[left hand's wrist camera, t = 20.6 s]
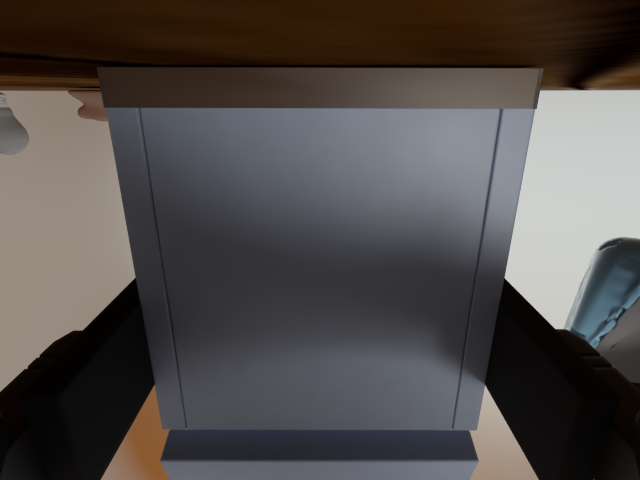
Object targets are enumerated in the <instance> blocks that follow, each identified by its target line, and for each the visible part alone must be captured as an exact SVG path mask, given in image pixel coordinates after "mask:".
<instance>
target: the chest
mask: <svg viewBox="0 0 640 480" xmlns="http://www.w3.org/2000/svg"><path fill="white" fill-rule="evenodd" d="M543 71H544V68H375V67H97V72H98V77H99V83H100V89H101V94H102V100H103V105H104V108H106V111H107V117H108V122H109V128H110V134H111V139H112V145H113V151H114V156H115V162H116V168H117V173H118V179H119V185H120V191H121V196H122V202H123V207H124V213H125V219H126V225H127V230H128V236H129V242H130V247H131V253H132V259H133V264H134V270H135V276H136V281H137V287H138V293H139V299H140V304H141V309H142V315H143V320H144V326H145V332H146V337H147V343H148V348H149V354H150V360H151V365H152V371H153V377H154V382H155V390H156V395H157V400H158V407H159V412H160V418H161V424H162V428H163V429H186V428H187V429H189V430H451V429H453V430H477V426H478V420H479V414H480V409H481V404H482V398H483V393H484V387H485V380H486V374H487V369H488V363H489V358H490V352H491V346H492V341H493V335H494V330H495V324H496V318H497V313H498V307H499V302H500V299H501V293H502V288H503V282H504V277H505V271H506V266H507V260H508V255H509V249H510V244H511V238H512V233H513V227H514V222H515V216H516V211H517V205H518V200H519V194H520V189H521V183H522V178H523V172H524V167H525V161H526V156H527V150H528V145H529V139H530V134H531V128H532V123H533V117H534V112H535V109H537V104H538V98H539V93H540V87H541V82H542V76H543Z"/></svg>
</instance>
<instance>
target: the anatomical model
mask: <svg viewBox="0 0 640 480" xmlns="http://www.w3.org/2000/svg"><path fill="white" fill-rule="evenodd" d="M68 93H69V94H70V95H72V96H73V97H75V98H77V99H78V100H80V101H82V102H83V103H84V105H83V106H82V107H80V108H79V109H78V115H79V116H80V117H82V118H86V119H94V120H98V121H108V117H107V111H106V108H104V105H103V100H102V94H101V90H70V91H68Z"/></svg>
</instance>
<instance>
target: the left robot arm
mask: <svg viewBox="0 0 640 480" xmlns="http://www.w3.org/2000/svg"><path fill="white" fill-rule="evenodd" d="M154 384H155V382H154V377H153V371H152V365H151V360H150V354H149V348H148V343H147V337H146V332H145V326H144V320H143V315H142V309H141V304H140V299H139V293H138V287H137V281H136V278H135V279H134V280H133V281H132V282H131V283H130V284H129V285H128V286H127V287H126V288H125V289H124V290H123V291H122V292H121V293H120V294H119V295H118V296H117V297H116V298H115V299H114V300H113V301H112V302H111V303H110V304H109V305H108V306H107V307H106V308H105V309H104V310H103V311H102V312H101V313H100V314H99V315H98V316H97V317H96V318H95V319H94V320H93V321H92V322H91V323H90V324H89V325H88V326H87V327H86V328H85V329H84V330H83V331H72V332H70V333H69V334H67V335H65V336H64V337H62V338H60V339H58V340H56V341H55V342H53V343H52V344H51V345H50V346H49V347H48V348H47V349H46V350H45V351H44V352H43V353H42V354H41V355H40V357H39V358H36V359H35V360H34V361H33V362H32V363H31V364H30V365H29V366H28V369H24V370H23V371H22V372H21V373H20V374H19V375H18V376H17V377H16V378H15V379H14V380H13V381H12V382H11V383H9V384H8V385H7V386H6V387H5V388H4V389H3V390H2V391H1V392H0V480H101V478H102V476H103V474H104V473H105V471H106V469H107V467H108V466H109V464H110V462H111V460H112V459H113V457H114V455H115V453H116V452H117V450H118V448H119V446H120V444H121V443H122V441H123V439H124V437H125V436H126V434H127V432H128V430H129V429H130V427H131V425H132V423H133V422H134V420H135V418H136V416H137V414H138V413H139V411H140V409H141V407H142V406H143V404H144V402H145V400H146V399H147V397H148V395H149V393H150V392H151V390H152V388H153V386H154ZM485 385H486V387H487V389H488V391H489V392H490V394H491V396H492V398H493V399H494V401H495V403H496V405H497V406H498V408H499V410H500V412H501V414H502V415H503V417H504V419H505V421H506V422H507V424H508V426H509V428H510V429H511V431H512V433H513V435H514V436H515V438H516V440H517V442H518V444H519V445H520V447H521V449H522V451H523V452H524V454H525V456H526V458H527V459H528V461H529V463H530V465H531V466H532V468H533V470H534V472H535V474H536V475H537V477H538V479H539V480H640V239H637V238H627V237H618V238H613V239H610V240H608V241H606V242H604V243H603V244H601V245H600V246H599V247H598V248H597V249H596V251H595V252H594V254H593V256H592V258H591V260H590V262H589V264H588V266H587V269H586V271H585V273H584V276H583V278H582V281H581V283H580V286H579V288H578V291H577V293H576V296H575V299H574V301H573V304H572V307H571V309H570V312H569V315H568V317H567V320H566V323H565V326H564V329H555V328H553V326H552V325H550V323H549V322H548V321H547V320H545V318H544V317H543V316H542V315H541V314H540V313H539V312H538V311H537V310H536V309H535V308H534V307H533V306H532V305H531V304H530V303H529V302H528V301H527V300H526V299H525V298H524V297H523V296H522V295H521V294H520V293H519V292H518V291H517V290H516V289H515V288H514V287H513V286H512V285H511V284H510V283H509V282H508V281H507V280H506V279H505V278H504V282H503V288H502V293H501V299H500V302H499V307H498V313H497V318H496V324H495V330H494V335H493V341H492V346H491V352H490V358H489V363H488V369H487V374H486V380H485Z"/></svg>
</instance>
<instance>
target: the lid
mask: <svg viewBox="0 0 640 480" xmlns="http://www.w3.org/2000/svg"><path fill="white" fill-rule="evenodd" d="M160 462H161V464H162V466H163V468H164V470H165V471H166V473H167V475H168V477H169V479H170V480H469V479H470V477H471V475H472V473H473V471H474V469H475V468H476V466H477V464H478V457H477V454H476V451H475V447H474V444H473V441H472V437H471V434H470V432H469V430H170V431H169V433H168V436H167V439H166V443H165V446H164V449H163V452H162V456H161V459H160Z"/></svg>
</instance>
